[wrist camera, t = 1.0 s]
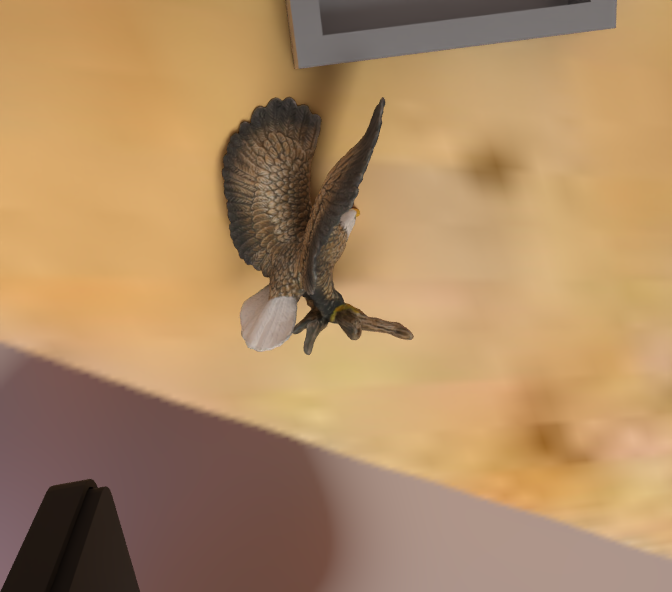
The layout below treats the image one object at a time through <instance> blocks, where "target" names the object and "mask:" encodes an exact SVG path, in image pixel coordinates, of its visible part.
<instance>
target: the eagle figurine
mask: <svg viewBox="0 0 672 592" xmlns="http://www.w3.org/2000/svg"><path fill="white" fill-rule="evenodd" d="M384 106H385V99H384V98H383V97H382V99H381V100H380V102H379V104H378V105H377V106H376V108H375V110H374V113H373V116H372V119H371V121H370V124H369V127H368V129H367V131H366V133H365V135H364V136H363V138H362V139H361V140H360V141H359V142H358V143H357V144H356V145H355V146H354V147H353V148H351V149H350V150H349V151H348V152H347V154H346V155H345V156H343V157H342V158H341V159H340V160H339V161H338V162H337V163H336V165H335V166H334V167H333V168H332V169H331V171H330V172H329V173H328V175H327V177H326V179H325V182H324V184H323V185H322V187H321V190H320V192H319V194H318V196H317V197H316V200H315V203H314V205H313V207H312V204H311V200H310V171H311V160H312V158H313V154H314V151H315V148H316V145H317V139H318V136H319V133H320V125H321V117H320V116H319V115H317V114H311V112H310V110H309V107H308V106H307V105H300V106H297V105H296V102H295V101H294V100H293V99H292V98H291V97H287V98H285V99H284V100H283V101H282V100H280V99H279V98H273V99H271V100H270V102H269V103H268V105H267V107H265V108H263V107H262V106H259V107H257V108H256V109H255V110H254V112H253V115H252V118H251V123H247V122H243V123H241V124H240V129H239V133H234V134H233V135H232V136H231V138H230V142H229V144H228V146H227V153H226V154H225V156H224V157H223V163H224V168H223V169H222V176H223V178H224V180H225V181H224V194H225V196H226V198H227V199H228V202H227V209H228V218H229V220H230V222H231V223H230V225H229V229H230V236H231V238H232V240H233V244H234V246H235V248H236V249H237V250H238V252H239V256H240V258H241V259H244V261H245V263H246V264H247V265H253V267H254V268H255V269H256V270H258V271H261V270H262V273H263V276H265V277H269V278H270V284H269V285H267V286H266V287H265V288H263V289H262V290H261V291H259V292H258V293H256V294H255V295H253V296H252V297H250V298H249V299H248V300H246V301H245V302H244V303H243V305H242V307H241V312H240V319H241V326H242V331H241V335H242V337H243V339H244V340H245V342H246V345H247V346H248V348H250V349H254V350H256V351H259V352H261V351H266V350H271V349H274V348H275V347H279V346H281V345H282V344H283V343H284V342H285V341H286V340H288V339H289V338H290V336H291V334H292V333H293V334H298V333H300V332H302V331H303V330H304V329H306V328H307V333H306V338H305V342H304V352H305V354H307V355H310V354H311V351H312V348H313V344H314V341H315V339H316V337H317V336H318V334H319V333H320V332H321V331H322V330H323V329H324V328H326V327H327V324H328V322H331V323H337V324H339V325H340V326H341V328H342V329H343V331H344V332H345V333H346V334H347V336H348V337H349V338H350V339H351V340H357V339H359V338H360V336H361V332H362V330H366V331H374V332H382V333H388V334H391V335H393V336H395V337H398V338H401V339H407V340H412V339H413V337H414V336H413V334H412V333H411V332H410V331H409V330H408V329H407V328H406V327H404V326H403V325H402V324H400V323H397V322H389V321H384V320H382V319H379V318H373V317H368V316H366V315H365V314H364V313H363V312H362V311H361V310H360V309H357V308H355V307H353V306H351V305H350V304H347V303H344V300H343V298H342V295H341V294H340V293H338V292H337V291H336V290H335V289H334V284H333V277H332V271H333V267H334V264H335V263H336V262H337V261H338V259H339V258H340V256H341V255H342V253H343V251H344V249H345V246H346V242H347V240H348V237H349V234H350V232H351V230H352V228H353V226H354V224H355V220H356V217H358V216H359V215H360V211H359V210H358V209H356V208H353V209H351V208H352V206H353V204H354V199H355V198H356V197H357V195H358V192H359V189H358V186H359V184H360V183H361V182H362V180H363V174H364V173H365V171H366V169H367V166H368V163H369V161H370V158H371V155H372V153H373V149H374V147H375V145H376V143H377V140H378V137H379V132H380V128H381V125H382V114H383V109H384ZM301 296H303V297H306V299H307V300H308V301H307V305H308V306H309V307H311V311H310V312H309V313H308V314H307V315H306V316H305V318H304V319H303V320H302V321H300V322H299V323H298V324H297V325H296V326H295V323H296V312H297V302H298V301H299V299H300V297H301Z"/></svg>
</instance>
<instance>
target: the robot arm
mask: <svg viewBox="0 0 672 592" xmlns="http://www.w3.org/2000/svg"><path fill="white" fill-rule="evenodd" d="M1 592H140V590H139V587H138V583H137V580H136V576H135V573H134V570H133V566H132V563H131V559H130V556H129V552H128V549H127V545H126V542H125V538H124V535H123V532H122V528H121V525H120V521H119V518H118V515H117V511H116V508H115V504H114V501H113V497H112V495H111V492H110V489H109V488H108V487H100V488H98V487H97V485H96V483H95V482H94V480H92V479H87V480H82V481H76V482H71V483H65V484H60V485H54V486H51V487H50V488H49V489H48V491H47V492H46V494H45V497H44V499H43V501H42V503H41V505H40V507H39V509H38V512H37V514H36V516H35V518H34V520H33V522H32V525H31V527H30V529H29V531H28V533H27V535H26V538H25V540H24V542H23V544H22V546H21V548H20V551H19V553H18V555H17V557H16V559H15V561H14V564H13V566H12V568H11V570H10V572H9V574H8V576H7V579H6V581H5V583H4V585H3V588H2V589H1Z"/></svg>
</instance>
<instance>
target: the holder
mask: <svg viewBox="0 0 672 592" xmlns="http://www.w3.org/2000/svg"><path fill="white" fill-rule="evenodd" d="M285 2H286V9H287V17H288V24H289V32H290V39H291V47H292V54H293V61H294V69H300V68H308V67H316V66H324V65H331V64H339V63H347V62H355V61H363V60H370V59H378V58H386V57H394V56H401V55H409V54H417V53H425V52H432V51H440V50H448V49H456V48H464V47H471V46H479V45H487V44H495V43H502V42H510V41H518V40H526V39H533V38H541V37H549V36H557V35H565V34H572V33H580V32H588V31H596V30H603V29H611V28H616V7H617V0H285Z"/></svg>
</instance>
